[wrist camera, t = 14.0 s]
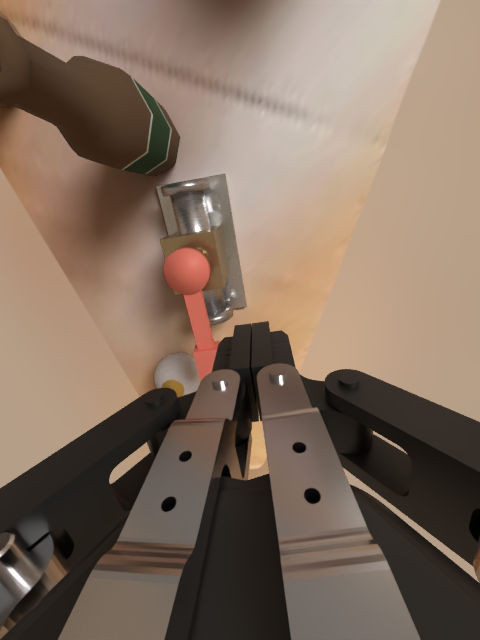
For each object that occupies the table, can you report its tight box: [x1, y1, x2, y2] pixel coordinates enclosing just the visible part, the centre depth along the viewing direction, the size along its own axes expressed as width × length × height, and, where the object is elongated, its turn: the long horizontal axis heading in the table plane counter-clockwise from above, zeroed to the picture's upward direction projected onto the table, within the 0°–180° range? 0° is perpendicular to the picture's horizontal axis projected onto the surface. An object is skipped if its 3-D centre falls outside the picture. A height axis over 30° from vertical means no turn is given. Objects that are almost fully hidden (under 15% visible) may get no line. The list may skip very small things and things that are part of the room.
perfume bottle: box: [154, 352, 201, 397], centre depth 43 cm, size 8×10×12 cm
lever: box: [163, 247, 219, 381], centre depth 31 cm, size 15×5×2 cm, turn 10°
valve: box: [156, 174, 247, 325], centre depth 35 cm, size 9×18×11 cm, turn 9°
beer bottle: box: [0, 17, 180, 176], centre depth 24 cm, size 8×8×24 cm
